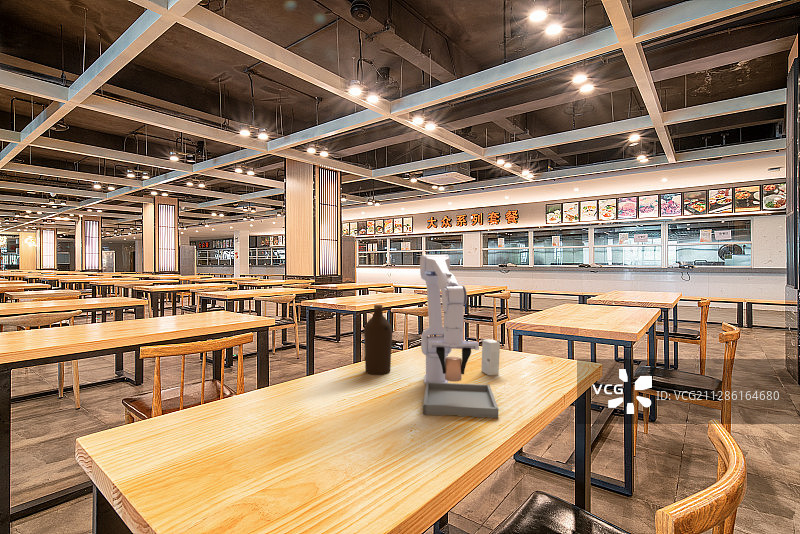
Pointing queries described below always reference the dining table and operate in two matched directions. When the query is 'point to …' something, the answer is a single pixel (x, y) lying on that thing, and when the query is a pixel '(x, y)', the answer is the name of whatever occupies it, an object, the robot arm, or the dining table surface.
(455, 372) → the pink rounded cylinder
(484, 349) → the skincare box
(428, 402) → the tray
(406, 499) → the dining table surface
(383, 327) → the olive oil
